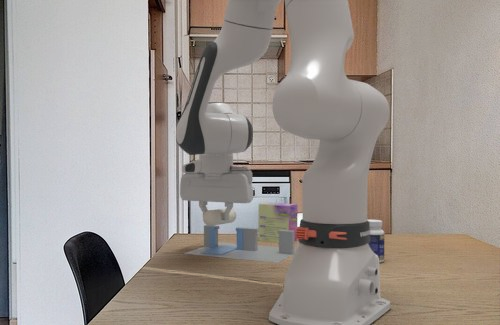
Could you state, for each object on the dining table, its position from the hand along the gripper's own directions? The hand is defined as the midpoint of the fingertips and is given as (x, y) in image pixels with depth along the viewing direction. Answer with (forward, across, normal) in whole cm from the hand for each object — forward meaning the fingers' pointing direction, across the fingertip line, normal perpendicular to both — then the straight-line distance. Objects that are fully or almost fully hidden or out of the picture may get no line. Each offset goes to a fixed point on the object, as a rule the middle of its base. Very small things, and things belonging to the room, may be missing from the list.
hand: (215, 219), depth 119 cm
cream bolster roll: (+2, 0, -2) cm, 3 cm away
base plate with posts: (+9, -6, -4) cm, 12 cm away
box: (+10, -8, -23) cm, 26 cm away
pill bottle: (+9, -38, -10) cm, 41 cm away
